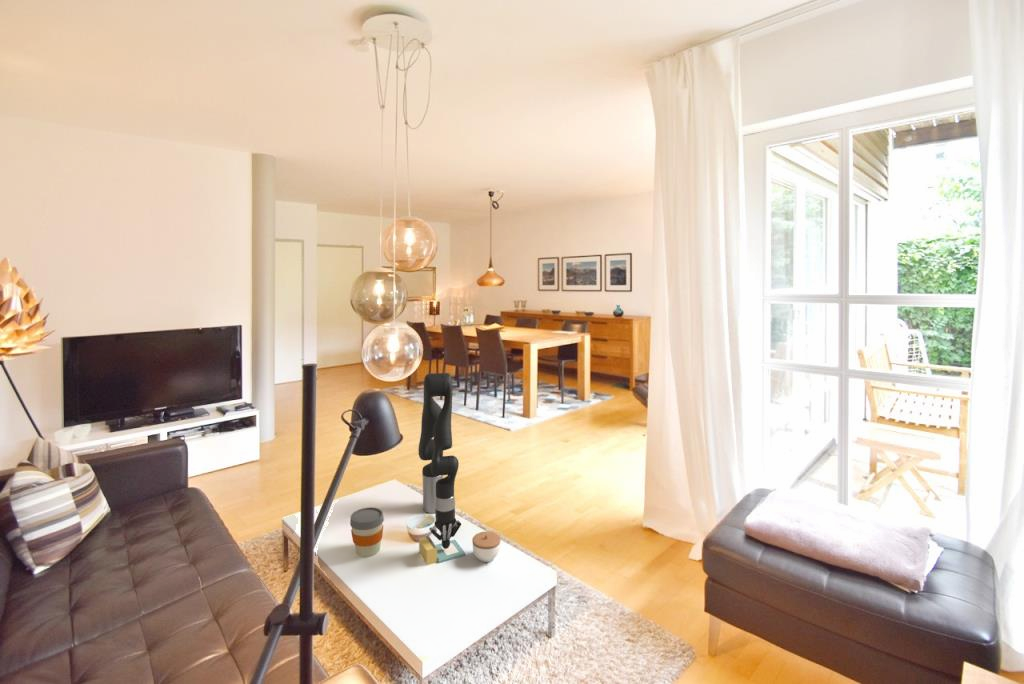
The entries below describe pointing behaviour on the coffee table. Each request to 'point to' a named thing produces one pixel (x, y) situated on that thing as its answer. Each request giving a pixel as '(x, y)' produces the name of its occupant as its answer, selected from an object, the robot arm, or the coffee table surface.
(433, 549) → the yellow box with stripe
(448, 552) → the spiral notebook
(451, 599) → the coffee table surface
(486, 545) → the lidded jar
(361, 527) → the reusable coffee cup
